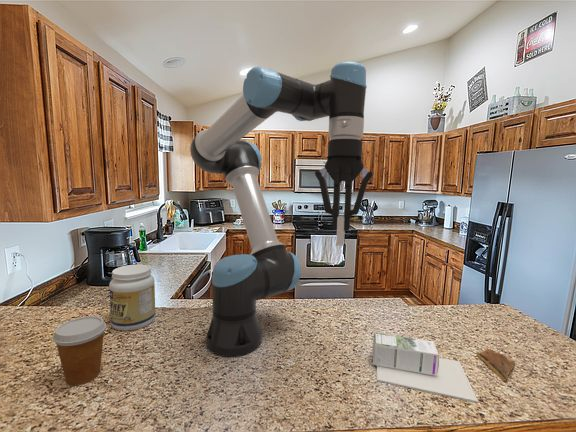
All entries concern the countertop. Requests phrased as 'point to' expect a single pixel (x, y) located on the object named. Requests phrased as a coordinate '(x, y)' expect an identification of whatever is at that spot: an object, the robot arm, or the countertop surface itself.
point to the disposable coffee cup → (80, 348)
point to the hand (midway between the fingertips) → (340, 244)
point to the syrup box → (405, 354)
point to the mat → (432, 380)
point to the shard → (497, 362)
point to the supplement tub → (132, 297)
